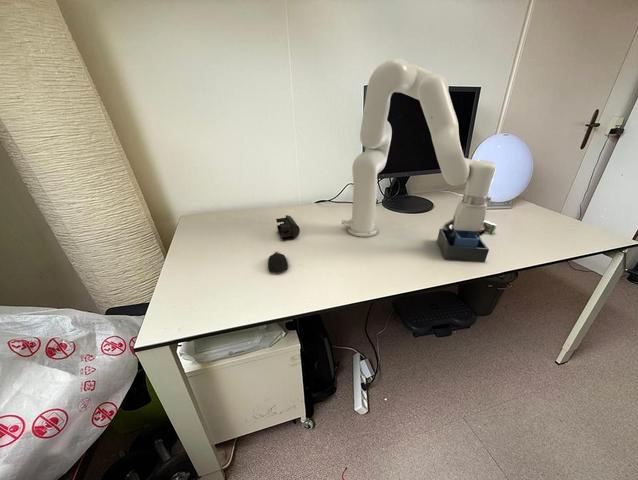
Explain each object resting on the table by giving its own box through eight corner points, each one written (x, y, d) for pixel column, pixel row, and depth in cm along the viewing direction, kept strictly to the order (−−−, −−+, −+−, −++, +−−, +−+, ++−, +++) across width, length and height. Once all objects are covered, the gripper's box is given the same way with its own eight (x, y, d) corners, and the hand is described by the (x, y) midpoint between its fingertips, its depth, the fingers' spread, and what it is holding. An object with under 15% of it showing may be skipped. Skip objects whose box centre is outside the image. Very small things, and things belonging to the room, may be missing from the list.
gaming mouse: (285, 251, 101) (284, 242, 99) (289, 273, 89) (288, 263, 87) (267, 253, 99) (265, 243, 97) (269, 276, 88) (267, 265, 85)
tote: (445, 259, 100) (448, 246, 97) (437, 240, 113) (439, 228, 110) (484, 262, 99) (489, 249, 96) (471, 242, 112) (475, 230, 109)
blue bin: (454, 255, 101) (459, 238, 97) (447, 241, 110) (451, 225, 106) (473, 256, 101) (479, 239, 97) (465, 243, 110) (470, 226, 106)
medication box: (494, 233, 121) (498, 224, 119) (491, 234, 119) (495, 225, 117) (469, 223, 128) (472, 215, 126) (466, 224, 127) (469, 216, 125)
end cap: (300, 238, 110) (299, 223, 106) (283, 241, 108) (281, 225, 104) (294, 229, 118) (292, 214, 114) (277, 231, 115) (275, 216, 111)
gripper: (496, 197, 98) (481, 242, 107) (446, 194, 99) (436, 239, 108) (504, 204, 91) (487, 251, 101) (451, 201, 92) (440, 248, 102)
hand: (461, 244), depth 105 cm, fingers closed on blue bin, 7 cm apart
